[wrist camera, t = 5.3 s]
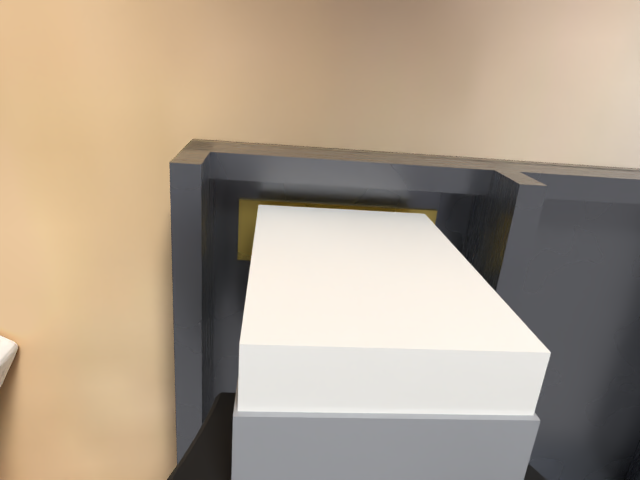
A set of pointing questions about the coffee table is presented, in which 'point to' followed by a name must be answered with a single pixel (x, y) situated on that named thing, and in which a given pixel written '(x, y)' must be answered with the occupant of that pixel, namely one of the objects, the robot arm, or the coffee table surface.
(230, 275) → the rack
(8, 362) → the ink box
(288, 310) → the white and grey box
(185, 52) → the coffee table surface
